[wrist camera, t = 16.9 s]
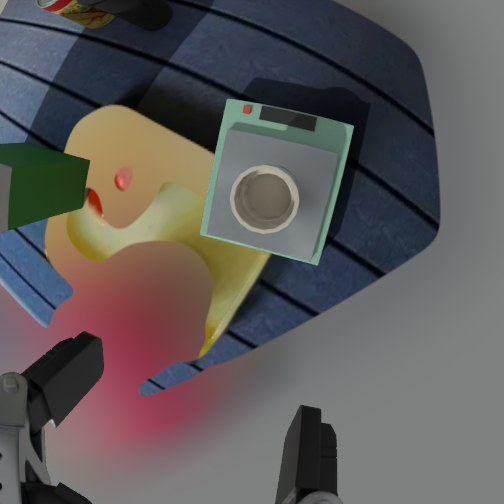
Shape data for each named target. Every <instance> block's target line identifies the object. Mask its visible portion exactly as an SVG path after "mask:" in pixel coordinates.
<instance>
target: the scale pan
mask: <svg viewBox="0 0 504 504" xmlns="http://www.w3.org/2000/svg"><path fill="white" fill-rule="evenodd" d="M338 156H339V154H338V153H334V152H331V151H327V150H323V149H319V148H315V147H311V146H308V145H303V144H299V143H295V142H291V141H287V140H282V139H278V138H273V137H268V136H264V135H259V134H254V133H248V132H243V131H238V130H232V129H227V133H226V137H225V142H224V147H223V151H222V156H221V161H220V166H219V171H218V176H217V181H216V186H215V191H214V196H213V201H212V207H211V212H210V217H209V223H208V228H207V235H211V236H215V237H219V238H222V239H226V240H230V241H234V242H238V243H242V244H246V245H250V246H253V247H257V248H261V249H265V250H269V251H273V252H276V253H280V254H284V255H288V256H292V257H296V258H299V259H303V260H307V261H311V259H312V255H313V252H314V248H315V245H316V241H317V238H318V234H319V230H320V227H321V223H322V219H323V215H324V212H325V208H326V204H327V200H328V196H329V192H330V189H331V185H332V181H333V176H334V172H335V168H336V164H337V160H338ZM260 165H275V166H279V167H282V168H284V169H285V170H287V171H288V172H290V173H291V174H292V175H293V177H294V178H295V180H296V181H297V183H298V185H299V191H300V202H299V206H298V210H297V214H296V216H295V217H294V218H293V220H292V221H291V222H290V224H289V225H288V226H286V227H285V228H283V229H281V230H280V231H278V232H274V233H267V234H261V233H257V232H253V231H250V230H249V229H247V228H246V227H245V226H243V225H242V224H240V223H239V221H238V220H237V218H236V217H235V215H234V214H233V211H232V208H231V202H230V195H231V190H232V186H233V184H234V182H235V181H236V179H237V178H238V177H239V175H240V174H241V173H243V172H244V171H246V170H247V169H249V168H251V167H254V166H260Z"/></svg>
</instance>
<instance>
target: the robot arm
mask: <svg viewBox="0 0 504 504" xmlns="http://www.w3.org/2000/svg"><path fill="white" fill-rule="evenodd" d="M103 370H104V361H103V348H102V340H101V339H100V338H99V337H96V336H95V335H92V334H90V333H88V332H86V331H83V332H82V333H80V334H79V335H78V336H77V337H75V338H74V339H73V338H68V339H66V340H63V341H60V342H59V343H58V344H56V345H55V346H54V347H53V348H52V350H51V349H50V350H49V351H48V352H47V353H46V355H43V356H42V357H41V358H40V359H38V360H37V361H36V362H35V363H33V364H32V365H31V366H30V367H29V368H28V369H26V370H25V371H24V372H23V373H21V374H19V373H15V372H9V373H5V374H3V375H1V376H0V504H92V503H91V502H90V501H89V500H88V499H87V498H85V497H84V496H82V495H80V494H78V493H77V492H75V491H74V490H72V489H70V488H69V487H67V486H66V485H64V484H62V483H61V482H60V483H59V484H58V485H57V487H56V486H52V485H51V480H50V477H49V474H48V471H47V466H46V455H45V431H44V425H45V424H46V423H47V422H48V423H50V424H51V425H53V426H54V427H56V428H57V426H58V425H59V424H60V423H61V422H62V421H63V420H64V419H65V417H66V416H67V415H68V414H69V413H70V412H71V411H72V409H73V408H74V407H75V406H76V405H77V404H78V403H79V402H80V400H81V399H82V398H83V397H84V396H85V395H86V394H87V393H88V392H89V390H90V389H91V388H92V387H93V386H94V385H95V384H96V382H98V380H99V379H100V378H101V376H102V374H103ZM336 441H337V440H336V434H335V432H334V430H333V428H332V426H331V425H330V424H326V423H321V409H319V408H314V407H309V406H304V405H301V406H300V407H299V409H298V411H297V413H296V415H295V417H294V419H293V421H292V423H291V426H290V427H289V429H288V432H287V435H286V438H285V442H284V449H283V457H282V463H281V470H280V476H279V482H278V489H277V495H276V501H275V504H343V503H342V501H341V500H340V499H339V497H338V494H337V458H336V457H337V449H336V447H337V442H336Z"/></svg>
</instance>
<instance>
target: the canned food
mask: <svg viewBox="0 0 504 504" xmlns="http://www.w3.org/2000/svg"><path fill="white" fill-rule="evenodd" d="M36 4H37V6H38V7H40V8H43V9H45V10H48V11H50V12H53V13H55V14H58V15H60V16H63V17H65V18H67V19H70V20H72V21H74V22H77V23H79V24H81V25H83V26H85V27H88V28H90V29H97V28H101V27H103V26H105V25H106V24H108V23H109V22H110V21H112V20H113V19H114V18H115V17H116V16H114V15H112V14H109V13H107V12H105V11H102V10H100V9H97V8H95V7H92V6H83V5H81V4H79V3H78V2H77V0H36Z"/></svg>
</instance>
